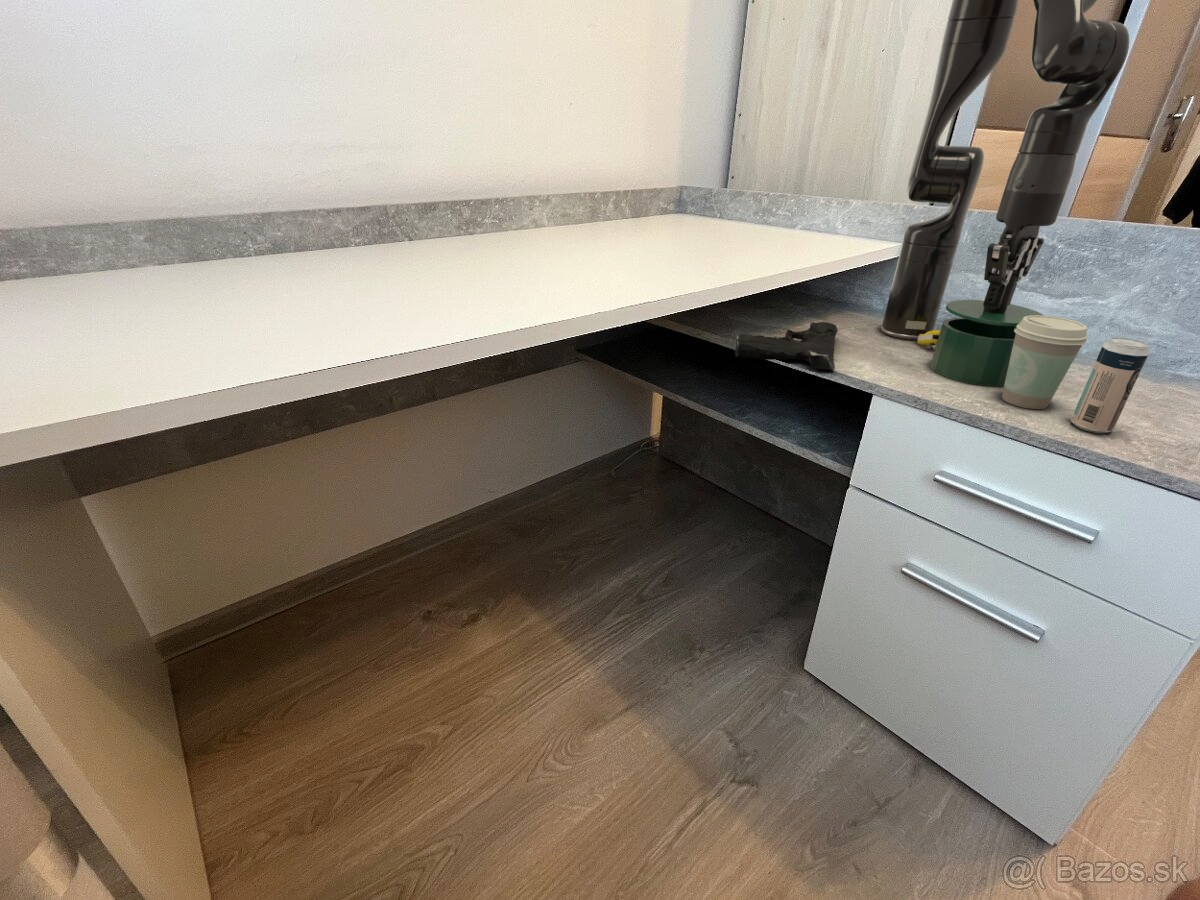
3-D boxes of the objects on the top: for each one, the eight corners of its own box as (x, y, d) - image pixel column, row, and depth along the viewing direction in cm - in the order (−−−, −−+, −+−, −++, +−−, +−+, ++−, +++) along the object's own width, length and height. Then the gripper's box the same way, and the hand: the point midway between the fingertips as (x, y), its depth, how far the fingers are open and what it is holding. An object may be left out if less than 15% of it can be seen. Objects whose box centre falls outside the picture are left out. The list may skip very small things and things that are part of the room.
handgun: (746, 327, 120) (749, 310, 118) (834, 337, 115) (838, 319, 114) (729, 361, 103) (732, 341, 101) (832, 375, 98) (836, 354, 96)
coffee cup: (987, 387, 94) (1013, 311, 88) (1051, 396, 91) (1082, 318, 86) (996, 407, 87) (1025, 326, 81) (1065, 417, 84) (1100, 334, 79)
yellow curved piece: (922, 347, 108) (926, 327, 108) (915, 350, 114) (918, 331, 114) (984, 353, 105) (988, 334, 105) (973, 356, 111) (977, 337, 111)
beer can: (1120, 437, 79) (1161, 349, 73) (1079, 433, 80) (1118, 346, 74) (1100, 422, 83) (1139, 338, 77) (1062, 418, 84) (1097, 335, 78)
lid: (933, 304, 103) (944, 264, 99) (1018, 308, 101) (1032, 268, 98) (962, 327, 91) (976, 283, 88) (1060, 332, 89) (1077, 288, 86)
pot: (920, 357, 106) (932, 315, 103) (997, 362, 105) (1012, 320, 101) (944, 382, 95) (958, 336, 92) (1030, 389, 94) (1048, 342, 90)
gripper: (1043, 193, 80) (1000, 319, 89) (1083, 188, 88) (1040, 305, 96) (985, 188, 86) (950, 307, 94) (1027, 184, 93) (991, 295, 101)
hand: (996, 306), depth 95 cm, fingers closed on lid, 3 cm apart
